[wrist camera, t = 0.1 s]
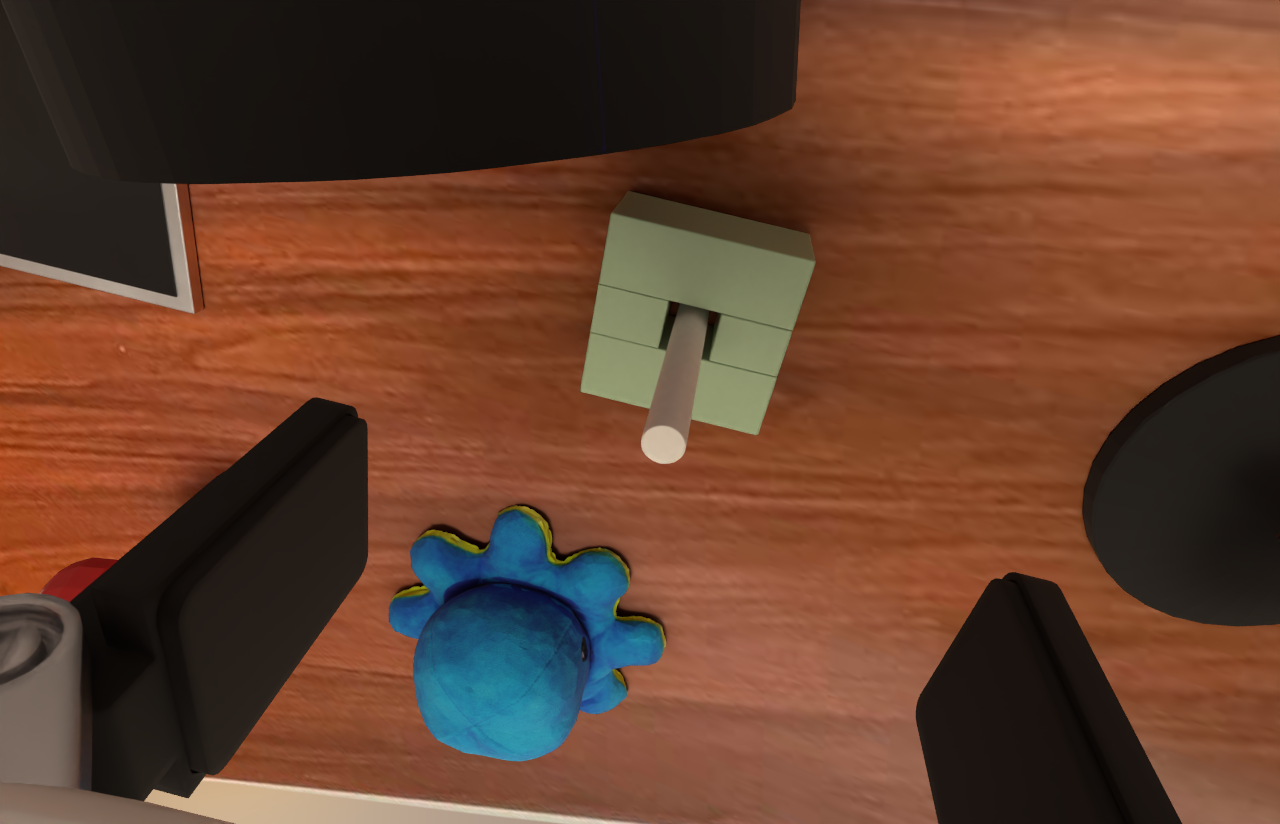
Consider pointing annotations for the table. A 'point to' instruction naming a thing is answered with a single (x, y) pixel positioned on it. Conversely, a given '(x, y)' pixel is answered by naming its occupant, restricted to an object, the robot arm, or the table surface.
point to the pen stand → (696, 305)
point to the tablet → (85, 208)
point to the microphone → (1197, 493)
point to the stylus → (676, 387)
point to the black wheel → (394, 82)
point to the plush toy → (517, 637)
